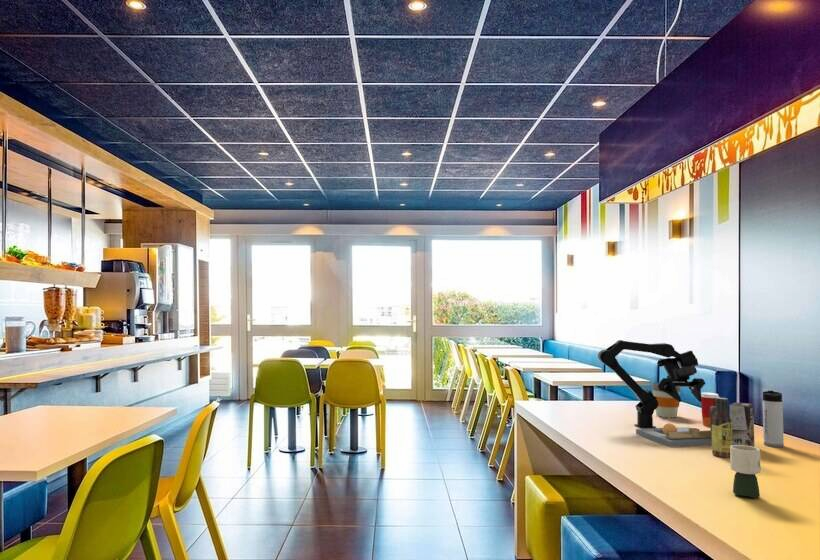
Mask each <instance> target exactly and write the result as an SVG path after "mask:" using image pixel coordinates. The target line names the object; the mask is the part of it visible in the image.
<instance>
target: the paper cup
mask: <svg viewBox="0 0 820 560" xmlns="http://www.w3.org/2000/svg"><path fill="white" fill-rule="evenodd" d="M701 398H702V401H701V402H700V406H701V407H700V408H701V418H702V419H701V420H702V425H704V426H705V427H707V426H708V428H711V425H710V407H711V406H714V407H716V402H715V398H720V396H719V394H718V393H715V392H701ZM704 426H703V427H704Z"/></svg>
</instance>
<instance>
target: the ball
mask: <svg viewBox="0 0 820 560" xmlns="http://www.w3.org/2000/svg"><path fill="white" fill-rule="evenodd" d="M662 428H663V433H664V434H665V435H666V436H668V435H667V432H677V428H676V425H675V424H674V423H666V424H664V425H663V427H662Z"/></svg>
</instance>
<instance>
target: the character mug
mask: <svg viewBox="0 0 820 560" xmlns="http://www.w3.org/2000/svg"><path fill="white" fill-rule="evenodd" d="M729 458H730V459H729V461H730V470H732V471H733V472H735V474H734V476H733V477H734V478H733V485H732V492H733V494H735V495H738V496H742V497H743V496H744V497H746V498H747V497H748V499H750V498H759V497H760V496H761V495H760V486H759V482H758V477H757V475H758V474H760V473H761V471H762V468H761V458H762V457H761V449H760V448H759V447H756V446H755V447H752V446H746V445H731V446H730V457H729ZM756 474H757V475H756Z"/></svg>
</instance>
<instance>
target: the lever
mask: <svg viewBox="0 0 820 560" xmlns="http://www.w3.org/2000/svg"><path fill="white" fill-rule="evenodd" d="M715 411H716V407H714V406H711V407H710V425H711V427H710V429H709V430H700V428H696V427H690V428H689V431H682V432H667V435H668V438H671V439H674V438H700V437H712V416H713V415H714V413H715ZM699 430H700V431H699Z"/></svg>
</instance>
